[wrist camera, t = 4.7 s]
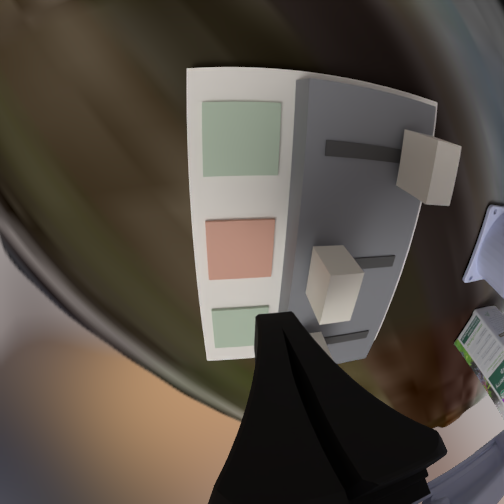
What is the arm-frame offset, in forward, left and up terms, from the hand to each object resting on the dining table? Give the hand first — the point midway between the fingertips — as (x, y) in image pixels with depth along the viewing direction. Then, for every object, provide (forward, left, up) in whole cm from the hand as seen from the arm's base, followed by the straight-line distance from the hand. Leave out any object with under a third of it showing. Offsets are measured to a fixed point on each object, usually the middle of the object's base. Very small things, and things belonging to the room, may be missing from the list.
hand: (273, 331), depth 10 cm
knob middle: (-3, 0, -4) cm, 5 cm away
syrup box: (-29, +13, -7) cm, 33 cm away
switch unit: (-4, 0, -7) cm, 8 cm away
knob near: (-7, -6, -4) cm, 10 cm away
